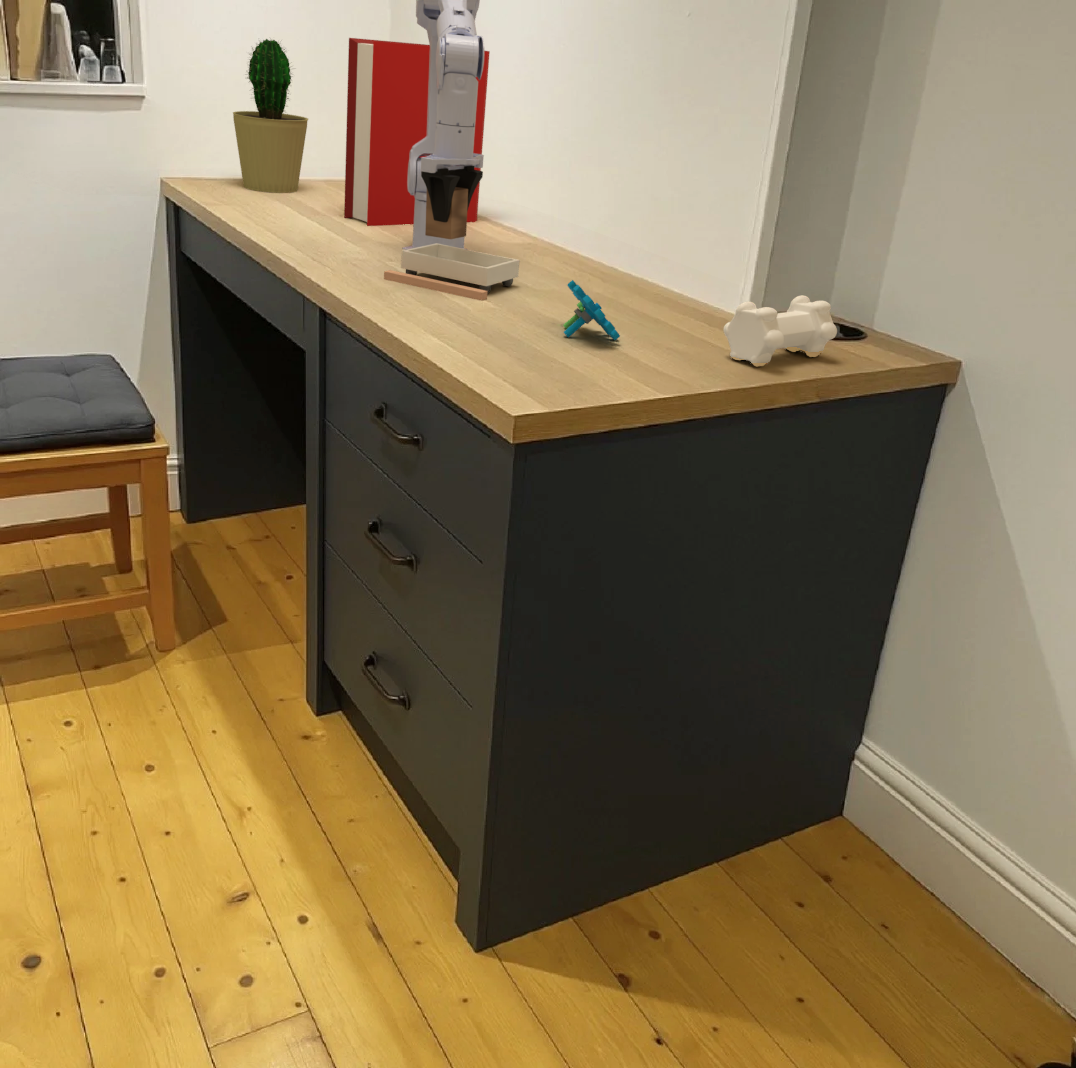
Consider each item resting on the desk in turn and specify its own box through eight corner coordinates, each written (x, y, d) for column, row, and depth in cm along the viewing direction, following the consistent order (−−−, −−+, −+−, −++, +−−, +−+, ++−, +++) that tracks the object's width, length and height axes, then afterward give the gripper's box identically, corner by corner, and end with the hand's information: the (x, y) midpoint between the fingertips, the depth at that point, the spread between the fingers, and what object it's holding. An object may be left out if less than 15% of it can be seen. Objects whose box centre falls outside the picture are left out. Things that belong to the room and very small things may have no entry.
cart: (435, 268, 177) (436, 243, 176) (517, 285, 172) (519, 259, 170) (400, 277, 169) (401, 250, 167) (485, 295, 163) (487, 268, 162)
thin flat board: (460, 262, 186) (460, 253, 185) (550, 281, 179) (551, 271, 179) (383, 281, 167) (384, 271, 166) (481, 303, 161) (482, 292, 160)
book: (367, 226, 209) (373, 41, 195) (344, 218, 214) (348, 37, 201) (480, 221, 226) (493, 51, 212) (456, 214, 231) (467, 48, 218)
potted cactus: (322, 193, 238) (324, 41, 226) (260, 195, 228) (259, 36, 215) (280, 181, 248) (280, 35, 235) (219, 183, 237) (216, 30, 225)
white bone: (785, 349, 157) (792, 291, 154) (837, 360, 151) (845, 300, 148) (716, 360, 147) (722, 299, 145) (768, 372, 141) (775, 308, 139)
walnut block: (441, 232, 171) (442, 185, 169) (466, 236, 170) (468, 188, 167) (425, 235, 168) (426, 187, 165) (450, 239, 166) (452, 190, 163)
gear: (630, 338, 144) (582, 279, 141) (595, 368, 145) (547, 310, 142) (613, 328, 155) (568, 272, 152) (581, 356, 155) (535, 301, 152)
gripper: (453, 129, 154) (446, 228, 160) (503, 126, 166) (495, 219, 172) (410, 122, 157) (405, 220, 163) (463, 120, 169) (457, 212, 175)
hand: (449, 219), depth 167 cm, fingers closed on walnut block, 4 cm apart
